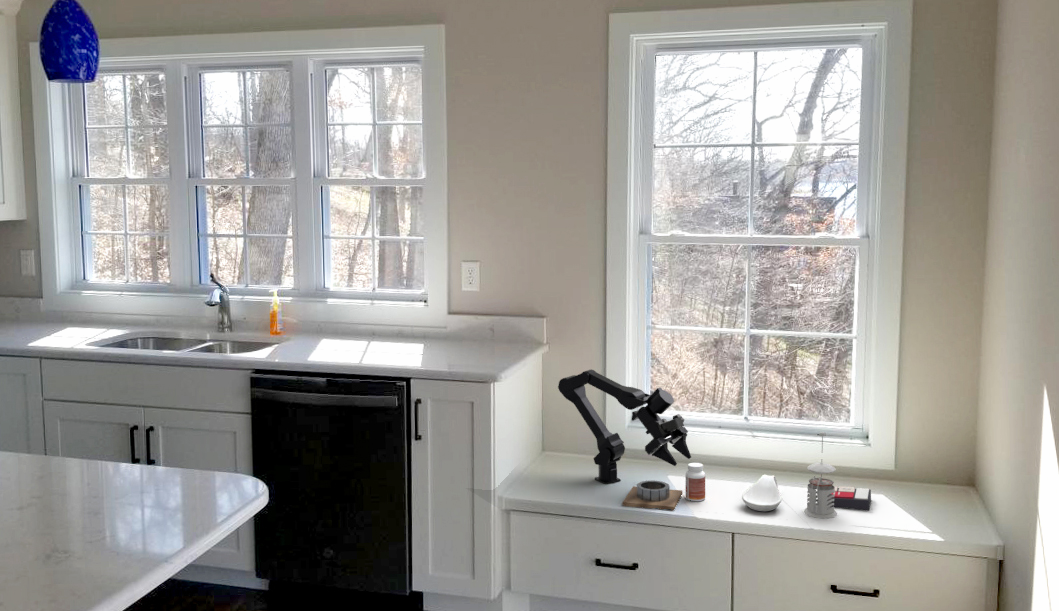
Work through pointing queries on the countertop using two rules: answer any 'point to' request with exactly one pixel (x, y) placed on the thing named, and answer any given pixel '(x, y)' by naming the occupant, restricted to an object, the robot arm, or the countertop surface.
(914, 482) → the countertop surface
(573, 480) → the countertop surface
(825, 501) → the french press
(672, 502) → the socket plate
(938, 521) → the countertop surface
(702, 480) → the pill bottle
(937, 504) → the countertop surface
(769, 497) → the spoon rest
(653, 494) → the collar
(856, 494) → the black box
